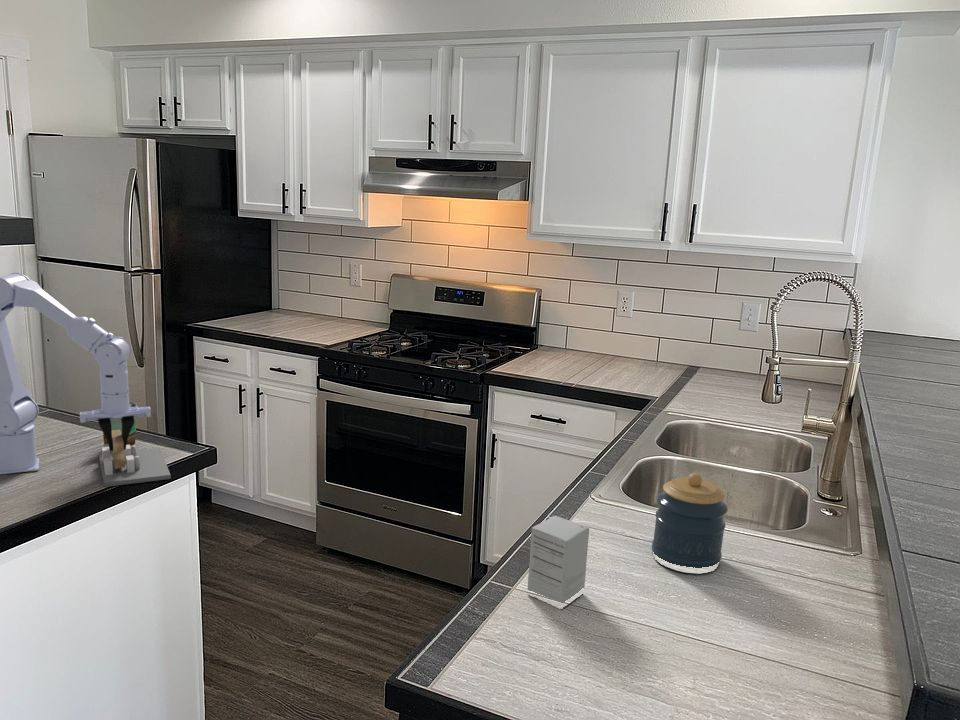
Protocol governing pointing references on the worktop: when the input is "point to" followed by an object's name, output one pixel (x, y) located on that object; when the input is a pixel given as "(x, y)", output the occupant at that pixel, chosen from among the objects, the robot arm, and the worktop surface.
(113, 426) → the food container
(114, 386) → the robot arm
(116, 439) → the oak block
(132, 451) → the board
